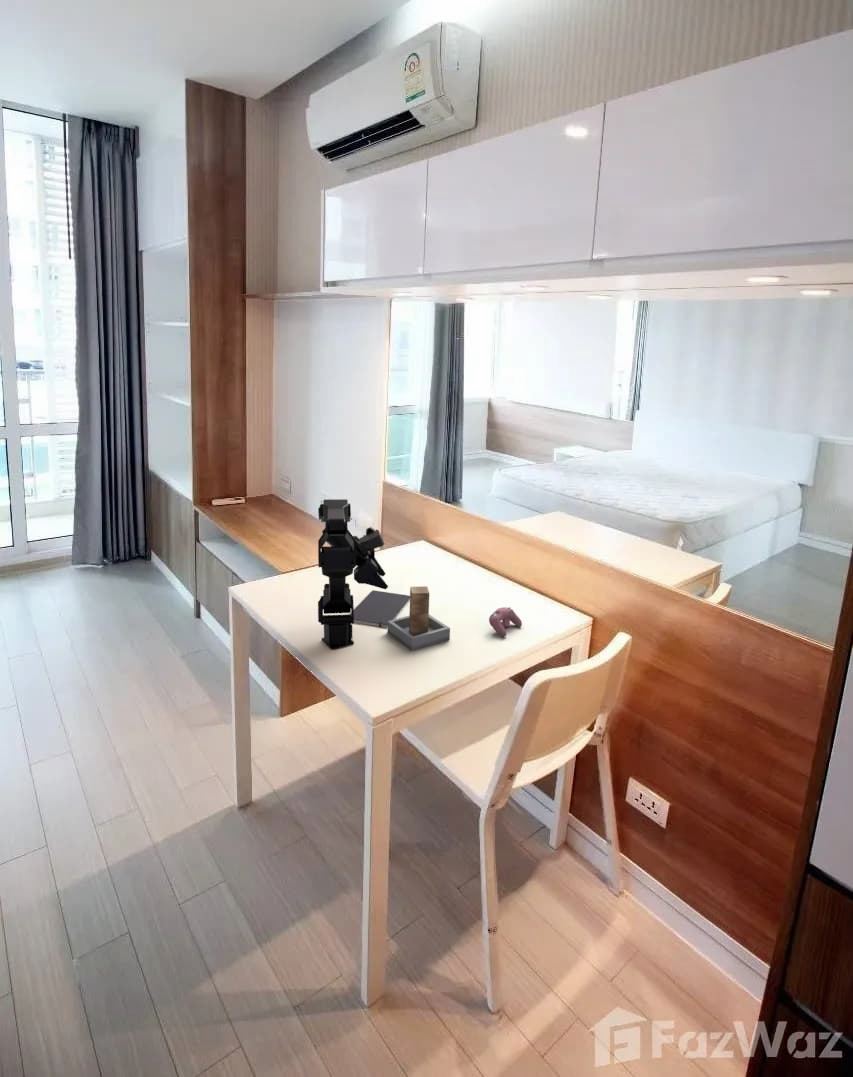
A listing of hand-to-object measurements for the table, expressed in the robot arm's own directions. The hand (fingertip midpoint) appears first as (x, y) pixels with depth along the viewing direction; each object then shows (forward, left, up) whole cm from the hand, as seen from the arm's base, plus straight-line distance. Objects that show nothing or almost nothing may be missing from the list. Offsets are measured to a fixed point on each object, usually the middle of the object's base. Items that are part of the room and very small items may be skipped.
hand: (385, 581), depth 175 cm
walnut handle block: (+5, -9, -13) cm, 16 cm away
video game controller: (+28, -18, -14) cm, 36 cm away
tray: (+5, -9, -14) cm, 17 cm away
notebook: (+5, +11, -14) cm, 19 cm away
